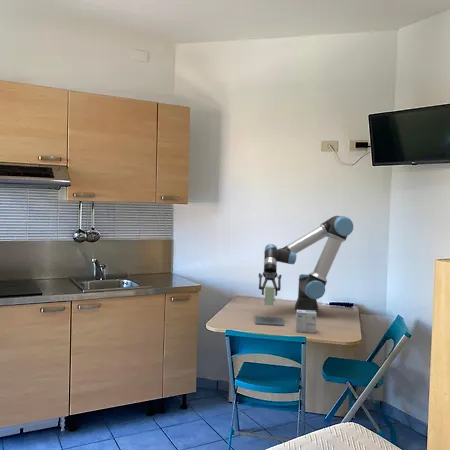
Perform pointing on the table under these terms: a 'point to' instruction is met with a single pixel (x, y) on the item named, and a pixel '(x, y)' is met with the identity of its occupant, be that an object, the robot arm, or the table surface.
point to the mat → (269, 321)
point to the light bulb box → (306, 321)
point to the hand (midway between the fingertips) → (269, 299)
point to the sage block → (269, 295)
